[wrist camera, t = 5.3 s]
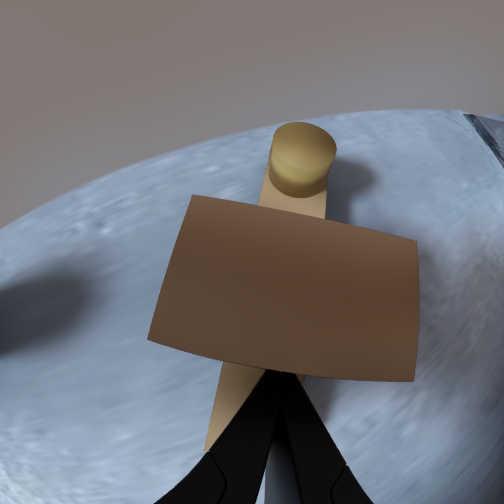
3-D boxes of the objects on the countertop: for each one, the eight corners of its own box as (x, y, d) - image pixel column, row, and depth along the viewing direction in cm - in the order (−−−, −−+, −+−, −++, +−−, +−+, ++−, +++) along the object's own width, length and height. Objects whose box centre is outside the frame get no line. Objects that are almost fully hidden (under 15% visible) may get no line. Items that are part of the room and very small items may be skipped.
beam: (278, 448, 13) (297, 486, 7) (209, 436, 13) (192, 471, 8) (319, 171, 21) (339, 115, 16) (270, 161, 21) (277, 101, 16)
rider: (321, 377, 13) (413, 381, 5) (201, 356, 14) (147, 339, 6) (331, 308, 15) (416, 241, 7) (217, 287, 15) (192, 194, 7)
